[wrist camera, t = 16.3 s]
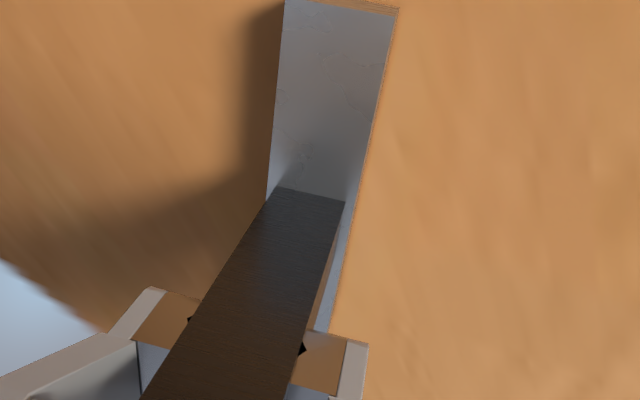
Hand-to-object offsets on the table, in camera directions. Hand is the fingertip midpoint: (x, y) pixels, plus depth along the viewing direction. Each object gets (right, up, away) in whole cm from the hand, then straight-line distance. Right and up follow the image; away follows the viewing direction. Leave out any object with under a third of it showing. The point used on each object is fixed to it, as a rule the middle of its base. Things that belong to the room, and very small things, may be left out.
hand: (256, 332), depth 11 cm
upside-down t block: (+2, +4, +7) cm, 8 cm away
